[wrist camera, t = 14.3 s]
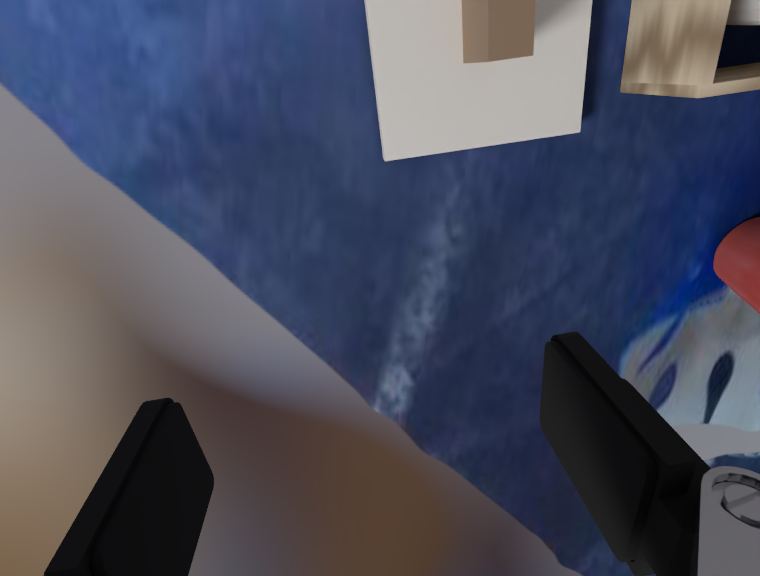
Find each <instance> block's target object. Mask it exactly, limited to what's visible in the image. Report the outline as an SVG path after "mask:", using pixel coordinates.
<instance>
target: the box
mask: <svg viewBox="0 0 760 576" xmlns="http://www.w3.org/2000/svg"><path fill="white" fill-rule="evenodd" d="M730 4H731V0H632V5H631V12H630V20H629V28H628V35H627V43H626V50H625V58H624V66H623V73H622V81H621V89H620V92H622V93H635V94H649V95H662V96H676V97H690V98H703V97H710V96H717V95H724V94H730V93H737V92H744V91H751V90H758V89H760V62H758V63H751V64H744V65H737V66H731V67H724V68H717V69H716V67H717V62H718V58H719V53H720V49H721V44H722V40H723V35H724V31H725V26H726V22H727V17H728V13H729V9H730Z"/></svg>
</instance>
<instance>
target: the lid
mask: <svg viewBox="0 0 760 576" xmlns="http://www.w3.org/2000/svg"><path fill="white" fill-rule="evenodd" d="M364 1H365V9H366V18H367V26H368V34H369V43H370V51H371V60H372V68H373V76H374V85H375V93H376V102H377V110H378V119H379V127H380V135H381V144H382V152H383V159H384V161H391V160H398V159H404V158H411V157H418V156H424V155H431V154H438V153H444V152H451V151H458V150H465V149H471V148H478V147H485V146H491V145H498V144H505V143H512V142H518V141H525V140H532V139H538V138H545V137H552V136H558V135H565V134H572V133H579V132H580V128H581V117H582V107H583V96H584V85H585V75H586V64H587V53H588V43H589V32H590V21H591V10H592V0H364Z"/></svg>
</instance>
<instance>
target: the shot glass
mask: <svg viewBox="0 0 760 576" xmlns="http://www.w3.org/2000/svg"><path fill="white" fill-rule="evenodd" d="M726 25H760V0H731V4H730V9H729V13H728V17H727V22H726Z"/></svg>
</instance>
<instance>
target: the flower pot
mask: <svg viewBox="0 0 760 576" xmlns="http://www.w3.org/2000/svg"><path fill="white" fill-rule="evenodd" d="M713 267H714V270H715V273H716V275H717V276H718V277H719V278H720V279H721V280H722V281H723V282H725V283H726V284H727V285H728V286H729V287H730V288H731V289H732V290H733V291H734V292H735V293H736V294H738V295H739V296H740V297H741V298H742V299H743V300H744V301H746V302H747V303H748V304H749V305H750V306H751V307H753V308H754V309H755V310H756V311H757V312H758V313H760V217H756V218H753V219H750V220H747V221H745V222H743V223H742V224H740V225H738V226H737V227H735V228H734V229H733V230H732V231H730V232H729V233H728V234H727V235H726V236H725V237H724V239H723V240H722V241H721V243H720V244H719V246H718V248H717V250H716V252H715V256H714V262H713Z"/></svg>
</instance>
